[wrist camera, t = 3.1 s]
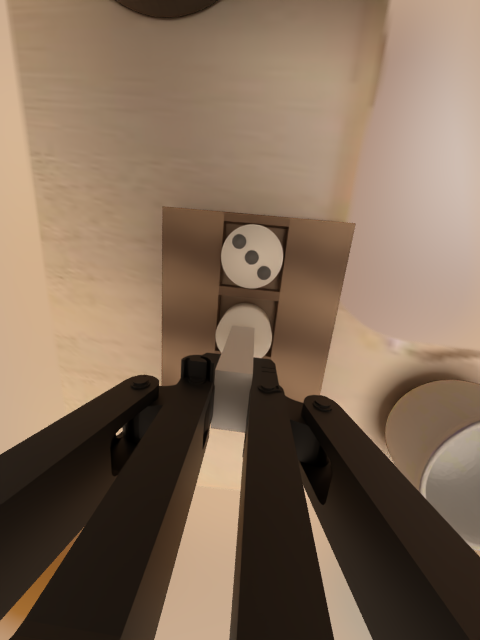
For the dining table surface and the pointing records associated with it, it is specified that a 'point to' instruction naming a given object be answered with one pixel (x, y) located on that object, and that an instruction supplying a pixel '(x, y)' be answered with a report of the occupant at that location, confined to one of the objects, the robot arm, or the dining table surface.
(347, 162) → the dining table surface
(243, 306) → the button one
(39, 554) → the robot arm
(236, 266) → the button three
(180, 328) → the panel
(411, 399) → the teacup
